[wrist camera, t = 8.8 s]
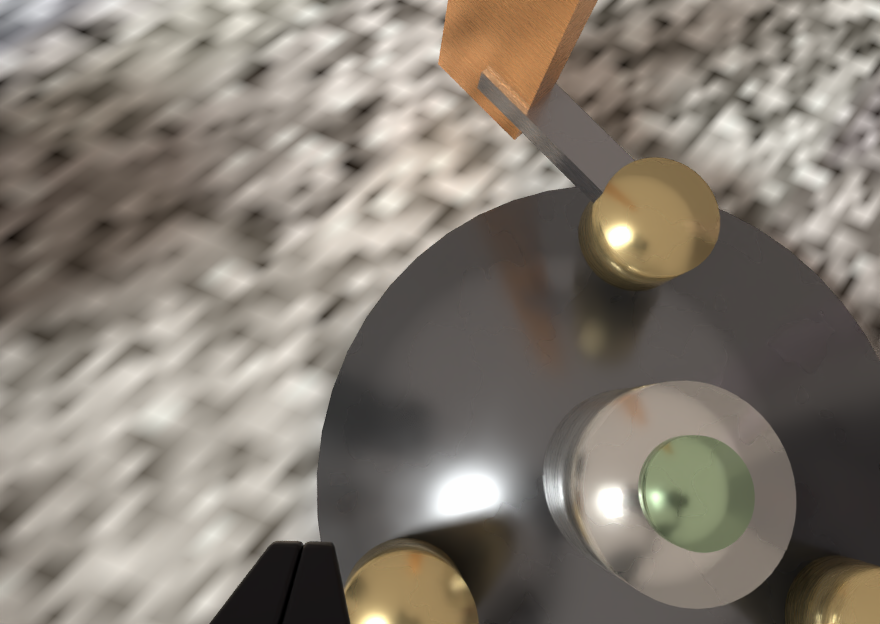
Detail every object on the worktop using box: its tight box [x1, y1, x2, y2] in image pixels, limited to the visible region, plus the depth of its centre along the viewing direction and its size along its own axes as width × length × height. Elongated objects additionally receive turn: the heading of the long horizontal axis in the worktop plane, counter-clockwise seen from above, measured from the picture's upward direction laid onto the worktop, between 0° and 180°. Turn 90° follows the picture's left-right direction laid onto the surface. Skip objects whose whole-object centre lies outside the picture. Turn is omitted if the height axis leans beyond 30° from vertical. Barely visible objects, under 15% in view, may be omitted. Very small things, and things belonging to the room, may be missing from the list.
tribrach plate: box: [317, 187, 880, 624], centre depth 20 cm, size 21×21×6 cm
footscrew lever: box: [438, 0, 720, 291], centre depth 18 cm, size 12×4×10 cm, turn 44°
